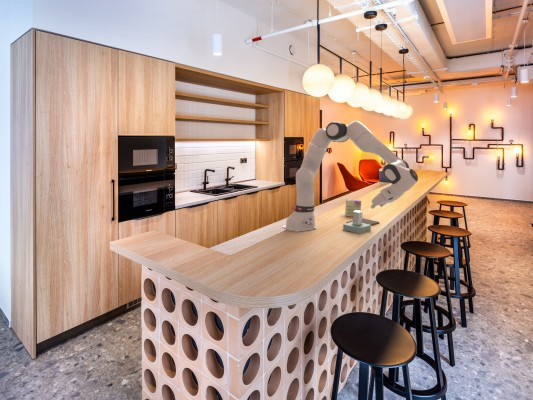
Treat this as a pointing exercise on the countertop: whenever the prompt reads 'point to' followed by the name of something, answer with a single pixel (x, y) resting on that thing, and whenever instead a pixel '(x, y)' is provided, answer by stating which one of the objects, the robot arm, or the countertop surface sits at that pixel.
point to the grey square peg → (357, 218)
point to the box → (352, 206)
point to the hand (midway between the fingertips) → (376, 206)
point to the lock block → (357, 227)
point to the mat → (367, 221)
